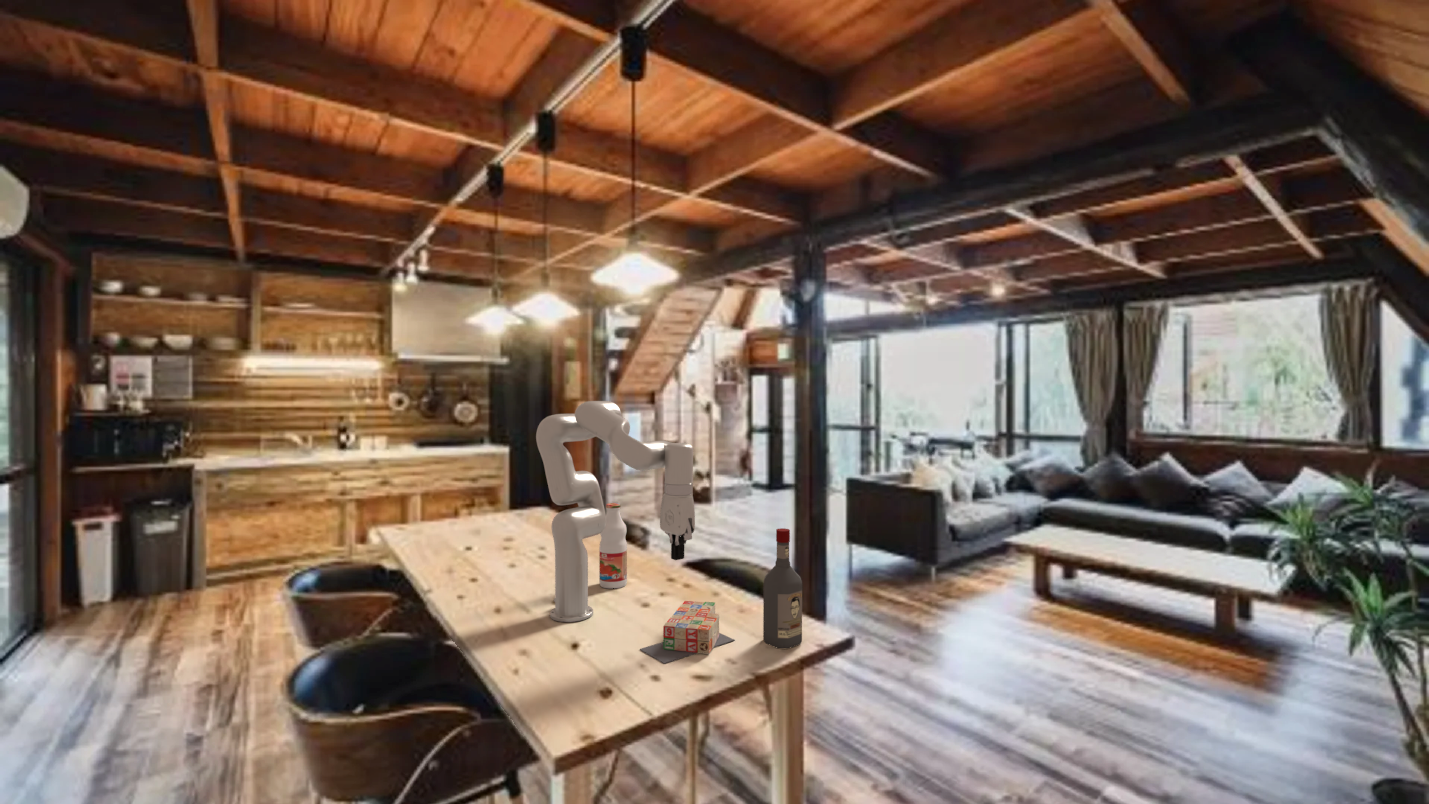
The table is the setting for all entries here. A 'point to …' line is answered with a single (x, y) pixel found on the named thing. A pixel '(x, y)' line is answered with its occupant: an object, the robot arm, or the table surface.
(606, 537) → the fruit juice
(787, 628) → the liquor
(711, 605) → the stack of blocks
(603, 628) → the table surface
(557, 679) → the table surface
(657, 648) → the mat
